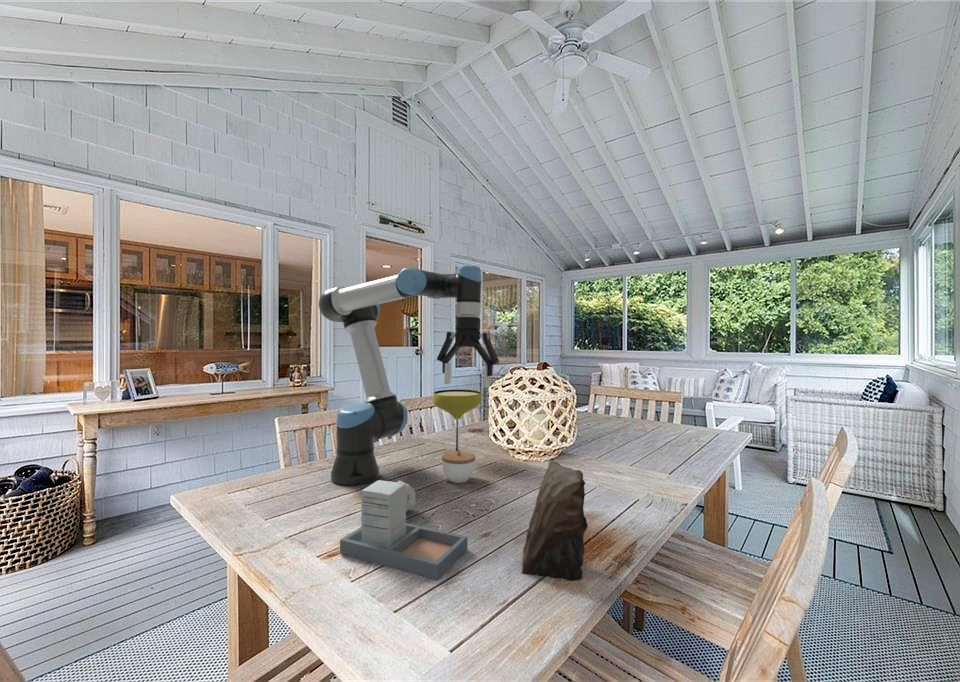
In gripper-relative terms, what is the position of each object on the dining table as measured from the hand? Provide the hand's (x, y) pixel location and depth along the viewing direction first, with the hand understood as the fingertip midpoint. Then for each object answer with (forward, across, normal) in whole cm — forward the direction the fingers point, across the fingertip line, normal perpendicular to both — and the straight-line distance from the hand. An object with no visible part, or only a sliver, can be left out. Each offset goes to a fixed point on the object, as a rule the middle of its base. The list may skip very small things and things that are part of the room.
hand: (466, 385), depth 138 cm
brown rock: (+31, -37, +35) cm, 60 cm away
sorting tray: (+31, -8, +43) cm, 54 cm away
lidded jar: (+31, +4, -4) cm, 32 cm away
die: (+32, +6, +26) cm, 41 cm away
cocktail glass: (+31, +15, -24) cm, 42 cm away
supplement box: (+31, -2, +43) cm, 53 cm away
